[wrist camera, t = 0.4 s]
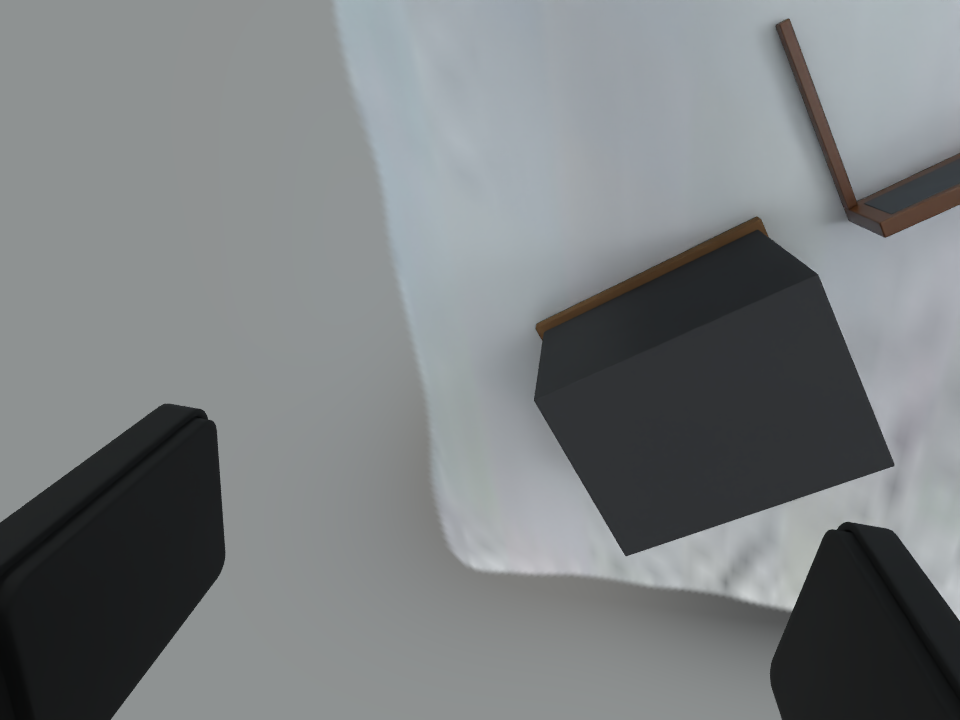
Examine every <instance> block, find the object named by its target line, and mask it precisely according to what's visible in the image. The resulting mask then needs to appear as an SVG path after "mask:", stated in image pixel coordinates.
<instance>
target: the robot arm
mask: <svg viewBox="0 0 960 720" xmlns="http://www.w3.org/2000/svg"><path fill="white" fill-rule="evenodd" d="M224 561H225V543H224V528H223V513H222V499H221V485H220V471H219V456H218V442H217V430H216V425H215V423H214V422H213V421H211V420H208V417H207V415H206V413H205V412H204V411H203V410H201V409H196V408H190V407H185V406H179V405H174V404H163V405H161V406H159V407H158V408H157V409H155V410H154V411H152V412H151V413H150V414H148V415H147V416H146V417H145V418H143V419H142V420H140V421H139V422H137V423H136V424H135V425H133V426H132V427H131V428H129V429H128V430H126V431H125V432H124V433H122V434H121V435H120V436H118V437H117V438H116V439H114V440H113V441H111V442H110V443H109V444H108V445H106V446H105V447H103V448H102V449H100V450H99V451H98V452H96V453H95V454H94V455H92V456H91V457H90V458H88V459H87V460H85V461H84V462H83V463H81V464H80V465H79V466H77V467H76V468H74V469H73V470H72V471H70V472H69V473H68V474H66V475H65V476H63V477H62V478H61V479H60V480H58V481H57V482H55V483H54V484H53V485H51V486H50V487H48V488H47V489H46V490H44V491H43V492H42V493H40V494H39V495H37V496H36V497H35V498H33V499H32V500H31V501H29V502H28V503H27V504H25V505H24V506H22V507H21V508H20V509H18V510H17V511H16V512H14V513H13V514H11V515H10V516H9V517H8V518H6V519H5V520H3V521H2V522H1V523H0V720H111V718H112V717H113V716H114V714H115V713H116V712H117V710H118V709H119V708H120V706H121V705H122V704H123V703H124V701H125V700H126V698H127V697H128V696H129V695H130V693H131V692H132V691H133V689H134V688H135V687H136V685H137V684H138V683H139V681H140V680H141V679H142V677H143V676H144V675H145V673H146V672H147V671H148V669H149V668H150V667H151V665H152V664H153V663H154V661H155V660H156V659H157V657H158V656H159V655H160V653H161V652H162V651H163V650H164V648H165V647H166V646H167V644H168V643H169V642H170V640H171V639H172V638H173V636H174V635H175V633H176V632H177V631H178V630H179V628H180V627H181V626H182V624H183V623H184V622H185V620H186V619H187V618H188V616H189V615H190V614H191V612H192V611H193V610H194V608H195V607H196V606H197V604H198V603H199V602H200V601H201V599H202V598H203V596H204V595H205V594H206V593H207V591H208V590H209V589H210V587H211V586H212V585H213V583H214V582H215V580H216V579H217V578H218V576H219V574H220V573H221V570H222V567H223V565H224ZM770 680H771V686H772V690H773V693H774V696H775V699H776V702H777V705H778V708H779V711H780V714H781V718H782V720H960V621H959V619H958V618H957V617H956V615H955V614H954V613H953V611H952V610H951V609H950V607H949V606H948V604H947V603H946V602H945V600H944V599H943V598H942V596H941V595H940V594H939V592H938V591H937V589H936V588H935V587H934V585H933V584H932V583H931V581H930V580H929V579H928V577H927V576H926V574H925V573H924V572H923V570H922V569H921V568H920V566H919V565H918V564H917V562H916V561H915V559H914V558H913V557H912V555H911V554H910V553H909V551H908V550H907V549H906V547H905V546H904V545H903V543H902V542H901V540H900V539H899V538H898V536H897V535H896V534H895V533H894V532H893V531H892V530H889V529H886V528H880V527H875V526H869V525H863V524H857V523H852V522H845V523H843V524H841V525H840V526H839V527H838V529H837V530H833V529H832V530H828V531H827V532H826V533H825V535H824V537H823V539H822V541H821V544H820V546H819V549H818V551H817V553H816V556H815V558H814V561H813V563H812V566H811V568H810V570H809V573H808V575H807V578H806V580H805V582H804V585H803V587H802V590H801V592H800V594H799V597H798V599H797V602H796V604H795V606H794V609H793V611H792V614H791V616H790V619H789V621H788V624H787V626H786V629H785V631H784V633H783V635H782V638H781V640H780V643H779V645H778V647H777V650H776V652H775V655H774V657H773V660H772V663H771V669H770Z"/></svg>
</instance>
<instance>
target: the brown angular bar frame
mask: <svg viewBox="0 0 960 720" xmlns="http://www.w3.org/2000/svg"><path fill="white" fill-rule="evenodd" d="M776 28H777V31H778V34H779V36H780V39H781V42H782V44H783V47H784V50H785V52H786V55H787V58H788V60H789V63H790V66H791V68H792V71H793V74H794V76H795V79H796V82H797V84H798V87H799V90H800V92H801V95H802V98H803V100H804V103H805V106H806V108H807V111H808V114H809V116H810V119H811V122H812V124H813V127H814V130H815V132H816V135H817V138H818V140H819V143H820V146H821V148H822V151H823V154H824V156H825V159H826V161H827V164H828V167H829V169H830V172H831V175H832V177H833V180H834V183H835V185H836V188H837V191H838V193H839V196H840V199H841V201H842V204H843V207H845V212H846V214H847V217H848V220H849V221H850V222H853V223H855V224H857V225H859V226H861V227H863V228H865V229H868V230H870V231H872V232H874V233H876V234H878V235H880V236H883V237H888V236H890V235H893V234H895V233H897V232H899V231H901V230H904V229H906V228H908V227H910V226H913V225H915V224H917V223H919V222H922V221H924V220H926V219H928V218H931V217H933V216H935V215H937V214H940V213H942V212H944V211H946V210H948V209H951V208H953V207H955V206H957V205H960V153H959V154H957V155H955V156H953V157H951V158H949V159H947V160H945V161H942V162H940V163H938V164H936V165H934V166H932V167H930V168H928V169H925V170H923V171H921V172H919V173H917V174H915V175H913V176H911V177H908V178H906V179H904V180H902V181H900V182H898V183H896V184H894V185H891V186H889V187H887V188H885V189H883V190H881V191H879V192H877V193H874V194H872V195H870V196H868V197H866V198H864V199H862V200H860V201H856V198H855V195H854V193H853V190H852V187H851V185H850V182H849V179H848V176H847V174H846V171H845V168H844V166H843V163H842V160H841V157H840V155H839V152H838V149H837V147H836V144H835V141H834V138H833V136H832V133H831V130H830V128H829V125H828V122H827V119H826V117H825V114H824V111H823V109H822V106H821V103H820V100H819V98H818V95H817V92H816V90H815V87H814V84H813V81H812V79H811V76H810V73H809V71H808V68H807V65H806V62H805V60H804V57H803V54H802V52H801V49H800V46H799V43H798V41H797V38H796V35H795V33H794V30H793V27H792V24H791V22H790V19H786V20H784V21H782V22H780V23H779V24H777V25H776Z"/></svg>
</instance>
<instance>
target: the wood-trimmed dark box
mask: <svg viewBox="0 0 960 720" xmlns="http://www.w3.org/2000/svg"><path fill="white" fill-rule="evenodd" d="M536 330H537V332H538V334H539V336H540V337H541V339H542V348H541V355H540V362H539V369H538V376H537V383H536V390H535V397H534V401H535V403H536V405H537V406H538V408H539V410H540V411H541V413H542V415H543V417H544V418H545V420H546V422H547V423H548V425H549V427H550V428H551V430H552V432H553V434H554V435H555V437H556V439H557V440H558V442H559V444H560V445H561V447H562V449H563V451H564V452H565V454H566V456H567V457H568V459H569V461H570V463H571V464H572V466H573V468H574V469H575V471H576V473H577V474H578V476H579V478H580V480H581V481H582V483H583V485H584V486H585V488H586V490H587V491H588V493H589V495H590V497H591V498H592V500H593V502H594V503H595V505H596V507H597V509H598V510H599V512H600V514H601V515H602V517H603V519H604V520H605V522H606V524H607V526H608V527H609V529H610V531H611V532H612V534H613V536H614V537H615V539H616V541H617V543H618V544H619V546H620V548H621V549H622V551H623V553H624V555H625V556H628V555H631V554H634V553H637V552H640V551H643V550H646V549H649V548H652V547H655V546H658V545H661V544H664V543H667V542H670V541H673V540H676V539H679V538H682V537H685V536H688V535H691V534H694V533H697V532H700V531H703V530H706V529H709V528H712V527H715V526H718V525H720V524H723V523H726V522H729V521H732V520H735V519H738V518H741V517H744V516H747V515H750V514H753V513H756V512H759V511H762V510H765V509H768V508H771V507H774V506H777V505H780V504H783V503H786V502H789V501H792V500H795V499H798V498H801V497H804V496H807V495H810V494H813V493H816V492H819V491H821V490H824V489H827V488H830V487H833V486H836V485H839V484H842V483H845V482H848V481H851V480H854V479H857V478H860V477H863V476H866V475H869V474H872V473H875V472H878V471H881V470H884V469H887V468H890V467H893V466H894V462H893V459H892V457H891V455H890V452H889V450H888V447H887V445H886V442H885V440H884V437H883V435H882V432H881V430H880V427H879V425H878V422H877V420H876V417H875V415H874V412H873V410H872V407H871V405H870V402H869V400H868V397H867V395H866V392H865V390H864V387H863V385H862V382H861V380H860V378H859V375H858V373H857V370H856V368H855V365H854V363H853V360H852V358H851V355H850V353H849V350H848V348H847V345H846V343H845V340H844V338H843V335H842V333H841V330H840V328H839V325H838V323H837V320H836V318H835V315H834V313H833V310H832V308H831V306H830V303H829V301H828V298H827V296H826V293H825V291H824V288H823V286H822V283H821V281H820V278H819V276H818V274H817V273H815V272H814V271H813V270H811V269H810V268H809V267H807V266H806V265H805V264H803V263H802V262H801V261H799V260H798V259H797V258H795V257H794V256H793V255H791V254H790V253H789V252H787V251H786V250H785V249H783V248H782V247H781V246H779V245H778V244H777V243H775V242H774V241H773V240H771V239H770V238H769V237H768V234H767V232H766V230H765V227H764V225H763V222H762V220H761V219H760V218H758V217H755V218H753V219H751V220H749V221H747V222H745V223H743V224H741V225H739V226H737V227H735V228H732V229H730V230H728V231H726V232H724V233H722V234H720V235H718V236H716V237H714V238H712V239H710V240H708V241H706V242H704V243H702V244H700V245H698V246H695V247H693V248H691V249H689V250H687V251H685V252H683V253H681V254H679V255H677V256H675V257H673V258H671V259H669V260H667V261H665V262H663V263H661V264H659V265H656V266H654V267H652V268H650V269H648V270H646V271H644V272H642V273H640V274H638V275H636V276H634V277H632V278H630V279H628V280H626V281H624V282H622V283H619V284H617V285H615V286H613V287H611V288H609V289H607V290H605V291H603V292H601V293H599V294H597V295H595V296H593V297H591V298H589V299H587V300H585V301H583V302H580V303H578V304H576V305H574V306H572V307H570V308H568V309H566V310H564V311H562V312H560V313H558V314H556V315H554V316H552V317H550V318H548V319H546V320H543V321H541V322H539V323H537V324H536Z"/></svg>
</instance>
